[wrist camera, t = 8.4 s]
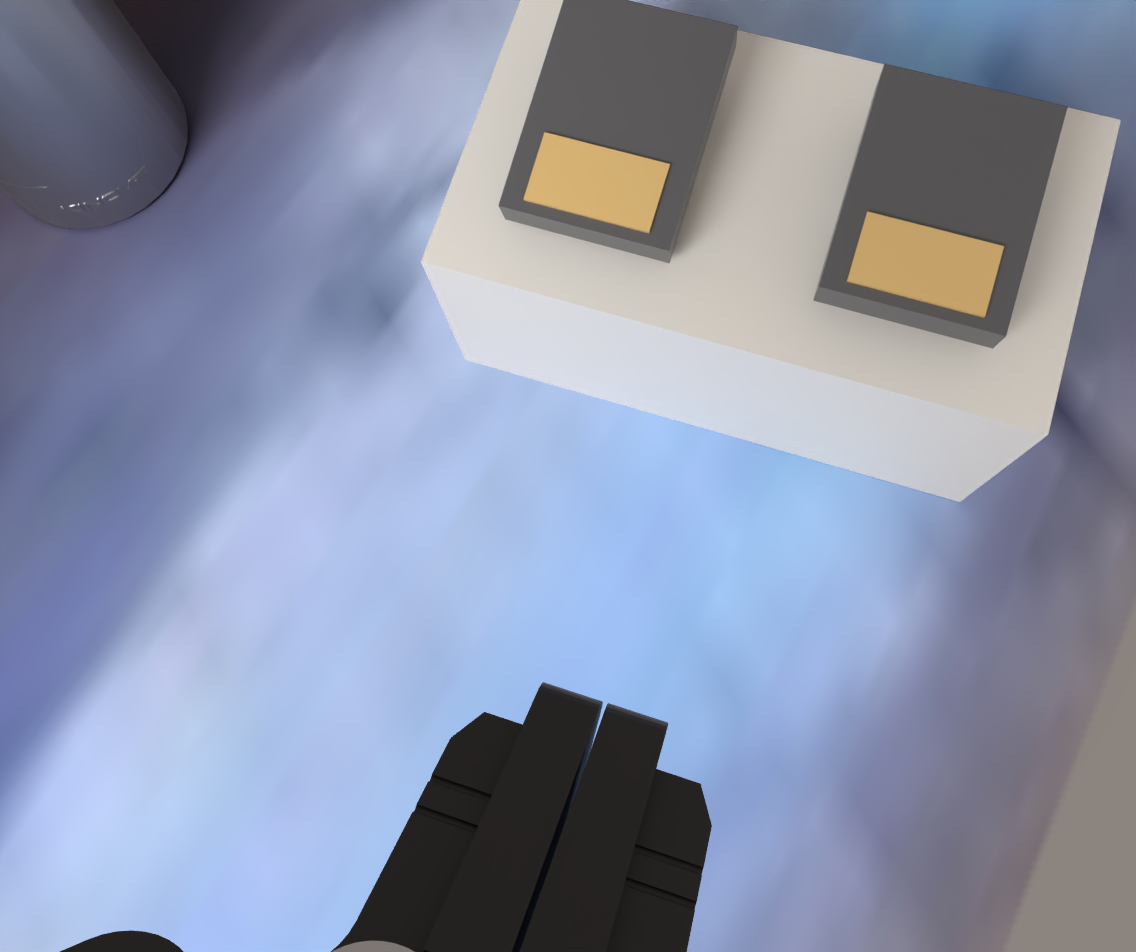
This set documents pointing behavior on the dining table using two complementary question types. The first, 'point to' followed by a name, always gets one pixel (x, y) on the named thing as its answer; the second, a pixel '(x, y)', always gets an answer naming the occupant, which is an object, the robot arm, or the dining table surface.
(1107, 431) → the dining table surface
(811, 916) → the dining table surface
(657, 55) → the block
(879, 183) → the rocker outer
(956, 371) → the switch box
